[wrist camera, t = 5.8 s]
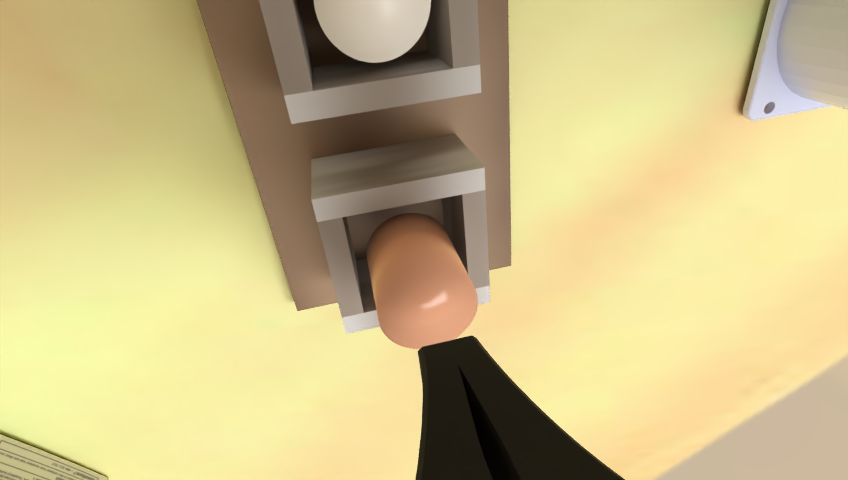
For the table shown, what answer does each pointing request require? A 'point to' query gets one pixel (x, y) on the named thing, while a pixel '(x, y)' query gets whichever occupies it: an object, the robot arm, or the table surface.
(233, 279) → the table surface
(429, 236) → the terracotta plug
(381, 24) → the plug
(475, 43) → the board
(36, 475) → the skincare box
